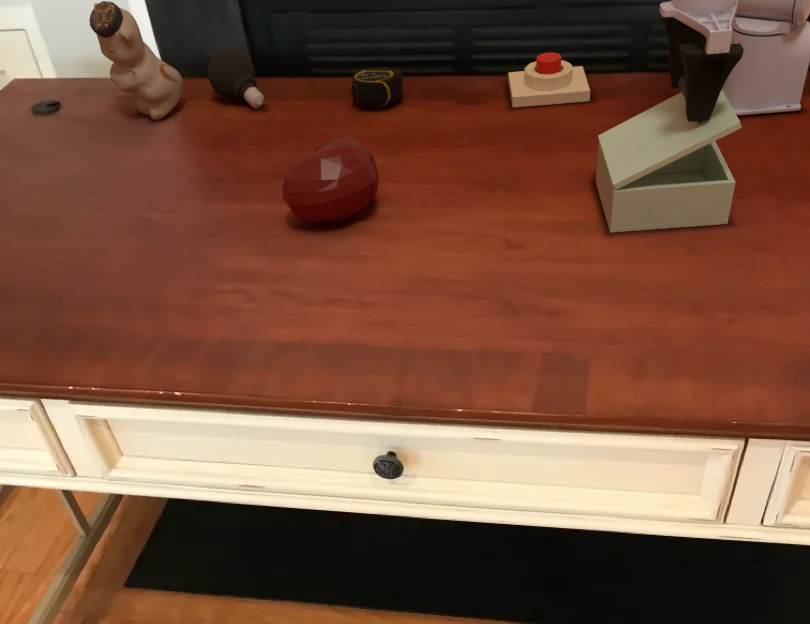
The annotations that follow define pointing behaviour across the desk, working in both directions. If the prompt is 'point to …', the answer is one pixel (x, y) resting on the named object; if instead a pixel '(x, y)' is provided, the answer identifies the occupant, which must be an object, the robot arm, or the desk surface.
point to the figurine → (135, 61)
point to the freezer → (670, 194)
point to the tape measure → (377, 86)
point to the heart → (332, 182)
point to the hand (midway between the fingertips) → (689, 102)
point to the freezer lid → (662, 137)
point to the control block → (548, 86)
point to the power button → (548, 63)
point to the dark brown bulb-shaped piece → (234, 77)
